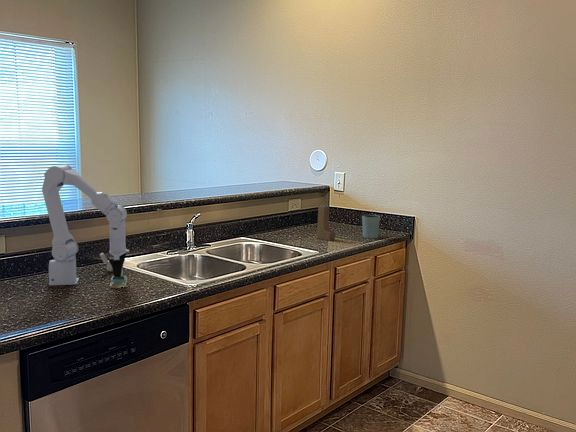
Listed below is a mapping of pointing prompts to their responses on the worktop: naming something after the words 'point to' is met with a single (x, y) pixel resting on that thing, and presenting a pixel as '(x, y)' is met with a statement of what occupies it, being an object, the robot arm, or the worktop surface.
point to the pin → (119, 277)
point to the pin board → (118, 282)
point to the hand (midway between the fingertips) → (118, 274)
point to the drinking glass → (370, 226)
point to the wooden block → (324, 224)
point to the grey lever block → (106, 261)
